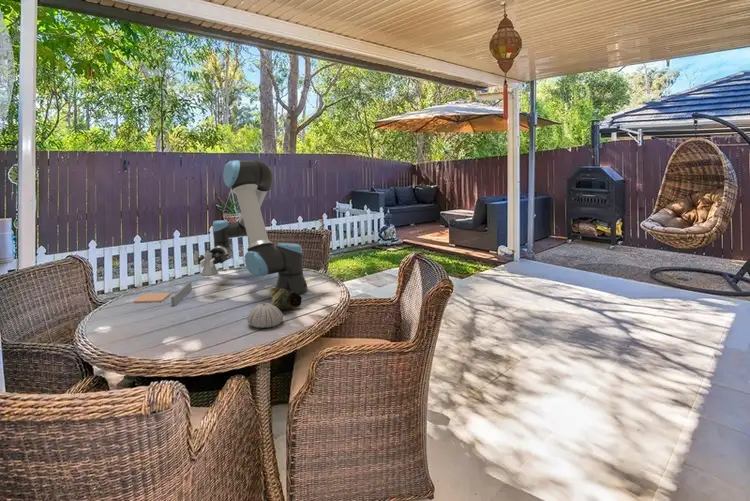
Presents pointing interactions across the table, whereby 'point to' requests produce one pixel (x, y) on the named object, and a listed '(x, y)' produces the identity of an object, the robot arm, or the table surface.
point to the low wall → (181, 294)
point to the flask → (207, 269)
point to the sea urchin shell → (265, 316)
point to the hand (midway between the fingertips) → (205, 264)
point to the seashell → (285, 299)
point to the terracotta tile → (152, 297)
